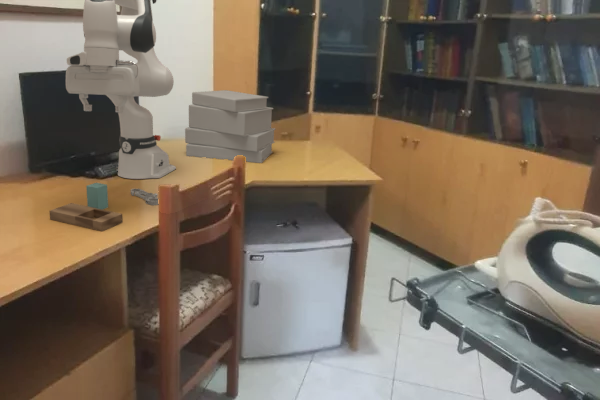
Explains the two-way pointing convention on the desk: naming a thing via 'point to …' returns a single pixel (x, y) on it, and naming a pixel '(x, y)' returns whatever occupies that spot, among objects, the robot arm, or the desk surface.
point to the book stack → (229, 126)
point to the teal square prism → (97, 196)
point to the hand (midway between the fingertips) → (103, 111)
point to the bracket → (146, 196)
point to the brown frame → (86, 216)
